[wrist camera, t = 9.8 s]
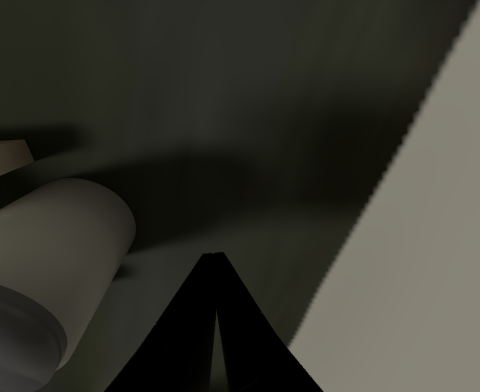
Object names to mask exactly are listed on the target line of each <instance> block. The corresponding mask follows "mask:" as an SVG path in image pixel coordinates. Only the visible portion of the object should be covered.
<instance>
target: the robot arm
mask: <svg viewBox="0 0 480 392" xmlns="http://www.w3.org/2000/svg"><path fill="white" fill-rule="evenodd" d="M216 309H217V316H218V323H219V330H220V336H221V343H222V350H223V356H224V363H225V369H226V376H227V383H228V389H229V392H323V391H322V389H321V388H320V387H319V386H318V385H317V383H316V382H315V381H314V380H313V379H312V377H311V376H310V375H309V374H308V373H307V371H306V370H305V369H304V368H303V366H302V365H301V364H300V363H299V362H298V361H297V359H296V358H295V357H294V356H293V354H291V352H290V351H289V350H288V348H287V347H286V346H285V344H284V343H283V342H282V341H281V339H280V338H279V337H278V335H277V334H276V333H275V331H274V330H273V328H272V327H271V325H270V324H269V322H268V321H267V319H266V318H265V316H264V315H263V313H262V312H261V310H260V309H259V307H258V305H257V304H256V302H255V301H254V299H253V297H252V296H251V294H250V293H249V291H248V290H247V288H246V286H245V285H244V283H243V282H242V280H241V279H240V277H239V275H238V274H237V272H236V271H235V269H234V268H233V266H232V264H231V263H230V261H229V260H228V258H227V257H226V255H225V253H224V252H217V253H214V254H213V253H207V254H203V255H202V256H201V257H200V259H199V260H198V262H197V263H196V265H195V266H194V268H193V269H192V271H191V272H190V274H189V275H188V277H187V278H186V279H185V281H184V282H183V284H182V285H181V287H180V288H179V290H178V291H177V293H176V294H175V296H174V297H173V299H172V300H171V302H170V303H169V305H168V306H167V308H166V309H165V311H164V312H163V313H162V315H161V316H160V318H159V319H158V321H157V322H156V325H154V327H153V328H152V330H151V331H150V333H149V334H148V335H147V337H146V338H145V340H144V341H143V342H142V344H141V345H140V347H139V348H138V349H137V351H136V352H135V353H134V355H133V356H132V357H131V359H130V360H129V361H128V362H127V364H126V365H125V366H124V367H123V369H122V370H121V371H120V372H119V374H118V375H117V376H116V377H115V379H114V380H113V381H112V382H111V383H110V385H109V386H108V387H107V388H106V390H105V391H104V392H209V387H210V377H211V366H212V355H213V344H214V333H215V322H216Z"/></svg>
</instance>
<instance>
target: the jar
mask: <svg viewBox="0 0 480 392" xmlns="http://www.w3.org/2000/svg"><path fill="white" fill-rule="evenodd" d="M135 234H136V223H135V219H134V216H133V214H132V212H131V210H130V208H129V207H128V206H127V204H126V203H125V202H124V201H123V200H122V199H121V198H120V197H119V196H118V195H117V194H116V193H114V192H113V191H111V190H110V189H108V188H106V187H104V186H102V185H100V184H98V183H95V182H92V181H89V180H84V179H77V178H64V179H57V180H54V181H51V182H48V183H46V184H44V185H42V186H41V187H39V188H37V189H35V190H34V191H32V192H30V193H28V194H27V195H25V196H23V197H21V198H20V199H18V200H16V201H14V202H12V203H11V204H9V205H7V206H5V207H4V208H2V209H0V392H35V391H37V390H39V389H40V388H42V387H43V386H44V385H45V384H47V383H48V382H49V380H50V379H51V378H52V376H53V374H54V373H55V371H56V370H58V369H59V368H61V367H62V366H63V365H64V364H65V363H67V361H68V360H69V359H70V357H71V356H72V354H73V352H74V350H75V348H76V346H77V344H78V343H79V341H80V339H81V337H82V335H83V333H84V331H85V330H86V328H87V326H88V324H89V322H90V320H91V319H92V317H93V315H94V313H95V311H96V309H97V307H98V306H99V304H100V302H101V300H102V298H103V296H104V294H105V293H106V291H107V289H108V287H109V285H110V283H111V282H112V280H113V278H114V276H115V274H116V272H117V270H118V269H119V267H120V265H121V263H122V261H123V259H124V257H125V256H126V254H127V252H128V250H129V248H130V246H131V244H132V243H133V241H134V238H135Z"/></svg>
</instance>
